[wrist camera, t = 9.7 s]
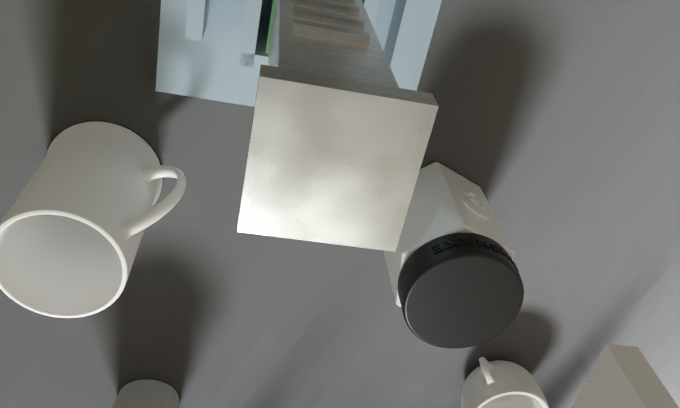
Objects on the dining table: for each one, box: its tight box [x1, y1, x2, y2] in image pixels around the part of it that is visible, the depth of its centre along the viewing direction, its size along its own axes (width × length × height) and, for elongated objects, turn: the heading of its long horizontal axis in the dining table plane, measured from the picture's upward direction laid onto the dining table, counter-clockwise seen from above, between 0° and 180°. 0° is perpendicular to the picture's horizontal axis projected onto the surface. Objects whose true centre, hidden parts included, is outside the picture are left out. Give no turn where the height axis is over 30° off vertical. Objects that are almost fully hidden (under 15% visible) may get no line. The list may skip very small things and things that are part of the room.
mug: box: [0, 121, 186, 318], centre depth 43 cm, size 12×8×12 cm
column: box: [237, 0, 439, 252], centre depth 28 cm, size 5×5×20 cm
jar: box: [384, 162, 524, 348], centre depth 47 cm, size 9×8×12 cm
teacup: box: [461, 357, 549, 408], centre depth 61 cm, size 10×8×5 cm
